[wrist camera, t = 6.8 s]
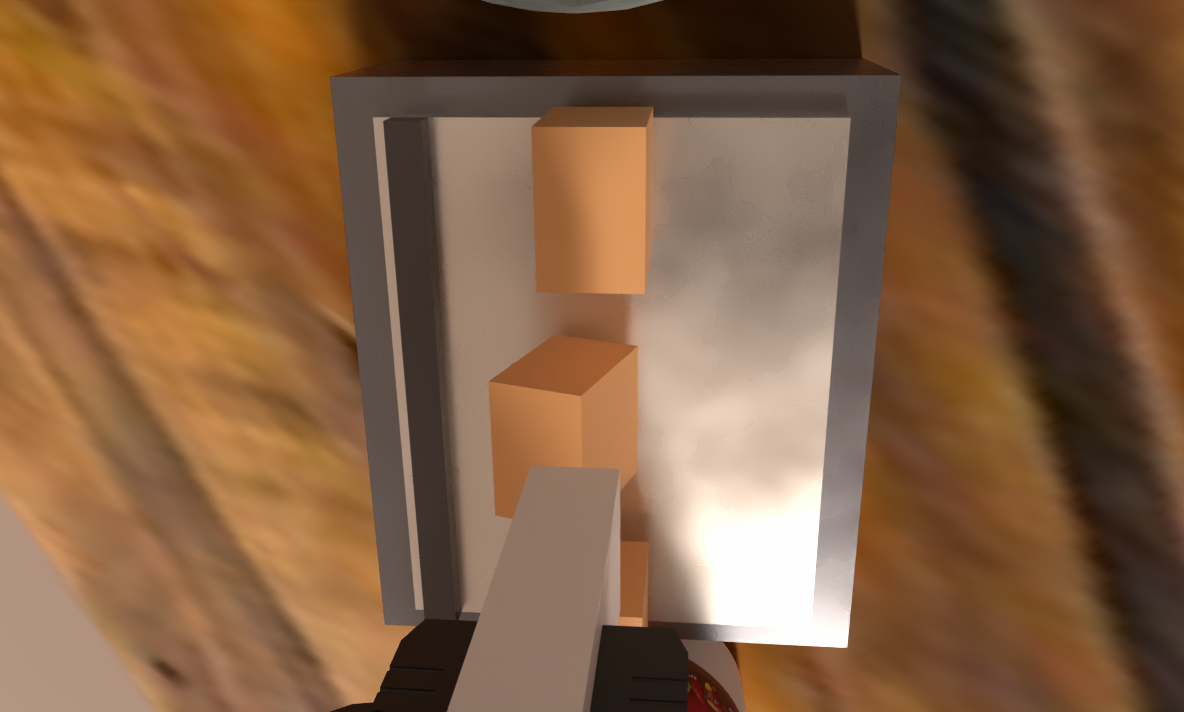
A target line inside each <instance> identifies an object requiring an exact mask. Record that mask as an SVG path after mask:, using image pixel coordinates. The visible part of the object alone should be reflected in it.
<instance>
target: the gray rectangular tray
mask: <svg viewBox="0 0 1184 712" xmlns="http://www.w3.org/2000/svg"><path fill="white" fill-rule="evenodd" d="M900 81H901V75H899V74H897V73H895V72H893V71H890V70H888V69H886V68H884V67H882V66H879V65H877V64H875V63H873V62H871V61H868V60H866V59H864V58H750V59H542V60H394V61H390V62H387V63H383V64H379V65H375V66H371V67H367V68H363V69H359V70H356V71H352V72H348V73H344V74H340V75H336V76H332V77H330V82H331V92H332V102H333V112H334V122H335V132H336V142H337V152H338V162H339V172H340V182H341V192H342V202H343V212H344V222H345V231H346V241H347V251H348V261H349V271H350V281H351V291H352V301H353V311H354V321H355V331H356V341H357V351H358V361H359V371H360V381H361V391H362V401H363V411H364V421H365V431H366V441H367V451H368V461H369V471H370V481H371V491H372V501H373V511H374V521H375V531H376V541H377V551H378V561H379V571H380V581H381V591H382V601H383V611H384V621H385V624H386V625H406V626H418V625H419V624H420V623H421V622H422V621H423V620H424V619H445V620H465V621H478V619H479V616H480V613H481V610H482V607H483V605H484V602H485V599H486V596H487V593H488V590H489V587H490V584H491V581H492V578H493V575H494V572H495V569H496V566H497V564H498V561H499V558H500V555H501V552H502V549H503V546H504V543H505V540H506V537H507V534H508V531H509V528H510V525H511V522H512V520H513V519H510V518H505V517H501V516H496V515H495V500H494V481H493V461H492V442H491V423H490V403H489V384H488V381H490V380H491V379H492V378H494V377H495V376H497V375H498V374H499V373H501V372H502V371H504V370H505V369H507V368H508V367H509V366H511V365H512V364H514V363H515V362H516V361H518V360H519V359H521V358H522V357H523V356H525V355H526V354H528V353H529V352H530V351H532V350H533V349H535V348H536V347H538V346H539V345H540V344H542V343H543V342H545V341H546V340H547V339H549V338H550V337H552V336H553V335H560V336H568V337H575V338H583V339H590V340H597V341H605V342H612V343H619V344H627V345H634V346H638V431H637V472H636V473H635V474H634V475H633V476H632V478H631V479H630V480H629V481H628V482H627V483H626V485H625V486H624V487H623V488H622V489H621V491H620V541H637V542H649V572H648V627H656V628H674V630H675V632H676V633H677V635H678V636H679V638H680V639H684V640H704V641H723V642H743V643H763V644H783V645H803V646H822V647H842V648H847V643H848V633H849V622H850V611H851V601H852V590H853V580H854V569H855V558H856V548H857V537H858V527H859V516H860V505H861V495H862V484H863V474H864V463H865V452H866V442H867V431H868V421H869V410H870V399H871V389H872V378H873V368H874V357H875V346H876V336H877V325H878V315H879V304H880V293H881V283H882V272H883V262H884V251H885V240H886V230H887V219H888V209H889V198H890V187H891V177H892V166H893V156H894V145H895V134H896V124H897V113H898V103H899V92H900ZM553 107H653V173H652V254H651V260H650V266H649V272H648V278H647V285H646V291H645V294H604V293H548V292H536V262H535V231H534V200H533V168H532V137H531V127H532V126H533V125H534V124H535V123H536V122H537V121H538V120H540V119H541V118H542V117H543V116H544V115H545V114H546V113H548V112H549V111H550V110H551V109H552V108H553Z"/></svg>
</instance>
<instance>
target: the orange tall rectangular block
mask: <svg viewBox="0 0 1184 712" xmlns="http://www.w3.org/2000/svg"><path fill="white" fill-rule="evenodd" d="M531 137H532V168H533V200H534V231H535V262H536V292H548V293H604V294H645V291H646V285H647V278H648V272H649V266H650V260H651V254H652V173H653V107H553V108H552V109H551V110H550V111H549V112H548V113H546V114H545V115H544V116H543V117H542V118H541V119H540V120H538V121H537V122H536V123H535V124H534V125H533V126H532V127H531Z"/></svg>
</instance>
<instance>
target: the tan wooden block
mask: <svg viewBox="0 0 1184 712" xmlns="http://www.w3.org/2000/svg"><path fill="white" fill-rule="evenodd" d="M648 572H649V542H637V541H620V615H619V623H618V626H636V627H648Z"/></svg>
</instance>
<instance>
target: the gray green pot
mask: <svg viewBox="0 0 1184 712" xmlns="http://www.w3.org/2000/svg"><path fill="white" fill-rule="evenodd" d="M483 1H486V2H489V3H493V4H499V5H504V6H509V7H515V8H520V9H526V10H531V11H542V12H559V13H575V14H576V13H589V12H601V11H614V10H626V9H630V8H634V7H638V6H642V5H646V4H650V3H654V2H658V1H662V0H483Z"/></svg>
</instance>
